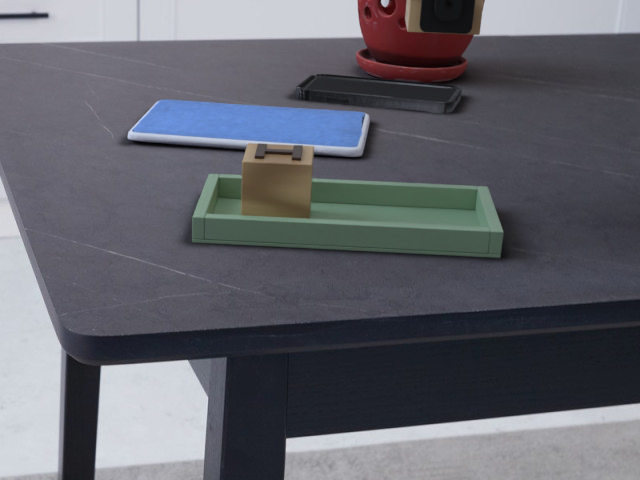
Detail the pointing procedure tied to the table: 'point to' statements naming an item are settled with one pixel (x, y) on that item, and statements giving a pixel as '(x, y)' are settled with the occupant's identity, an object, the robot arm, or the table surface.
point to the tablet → (252, 127)
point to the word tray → (359, 218)
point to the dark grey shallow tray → (379, 93)
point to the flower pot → (407, 46)
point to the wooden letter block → (414, 26)
